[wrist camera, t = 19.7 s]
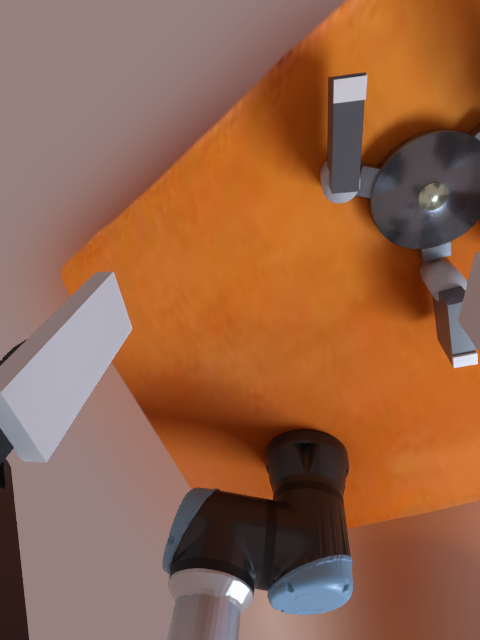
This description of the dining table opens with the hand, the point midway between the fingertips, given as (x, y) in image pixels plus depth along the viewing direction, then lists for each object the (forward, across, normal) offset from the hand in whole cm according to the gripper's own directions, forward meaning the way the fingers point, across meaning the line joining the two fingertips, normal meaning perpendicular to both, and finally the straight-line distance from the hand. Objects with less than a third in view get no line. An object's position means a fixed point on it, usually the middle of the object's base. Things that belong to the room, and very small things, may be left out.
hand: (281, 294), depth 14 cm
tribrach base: (+31, +15, -5) cm, 34 cm away
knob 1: (+31, +18, -18) cm, 40 cm away
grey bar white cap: (+31, +5, +1) cm, 31 cm away
